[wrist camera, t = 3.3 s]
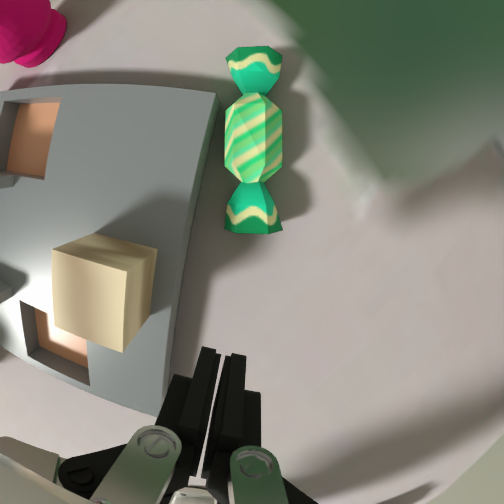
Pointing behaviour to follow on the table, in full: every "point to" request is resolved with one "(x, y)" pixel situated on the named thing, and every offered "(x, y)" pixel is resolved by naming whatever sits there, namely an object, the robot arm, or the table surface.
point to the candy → (253, 140)
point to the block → (102, 289)
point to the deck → (98, 218)
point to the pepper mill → (29, 31)
